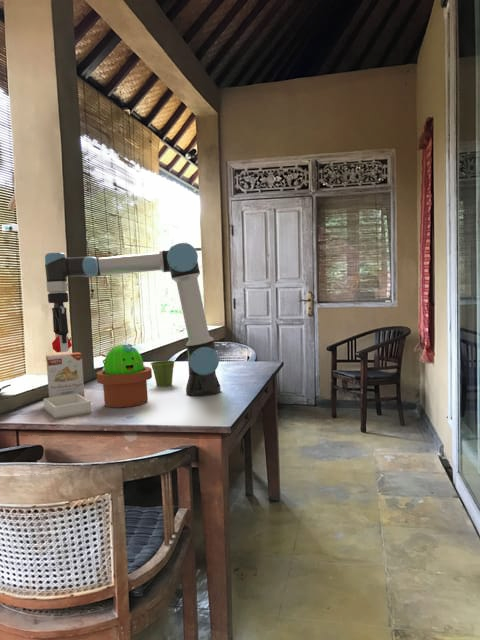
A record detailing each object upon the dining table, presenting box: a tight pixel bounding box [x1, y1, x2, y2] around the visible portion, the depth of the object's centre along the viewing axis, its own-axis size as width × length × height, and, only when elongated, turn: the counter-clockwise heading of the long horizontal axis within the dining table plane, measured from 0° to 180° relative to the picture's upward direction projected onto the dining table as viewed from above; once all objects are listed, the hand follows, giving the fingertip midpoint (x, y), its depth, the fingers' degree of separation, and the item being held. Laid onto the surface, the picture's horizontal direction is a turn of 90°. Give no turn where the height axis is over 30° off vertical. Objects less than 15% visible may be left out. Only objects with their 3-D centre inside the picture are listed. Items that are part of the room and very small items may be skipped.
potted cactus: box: [96, 343, 153, 409], centre depth 207 cm, size 22×22×25 cm
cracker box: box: [45, 352, 85, 398], centre depth 215 cm, size 14×6×21 cm, turn 118°
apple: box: [51, 336, 73, 353], centre depth 197 cm, size 7×7×8 cm
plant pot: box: [149, 360, 176, 388], centre depth 242 cm, size 12×12×11 cm
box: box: [43, 393, 92, 420], centre depth 199 cm, size 20×13×4 cm, turn 32°
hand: (62, 350), depth 198 cm, fingers closed on apple, 7 cm apart
